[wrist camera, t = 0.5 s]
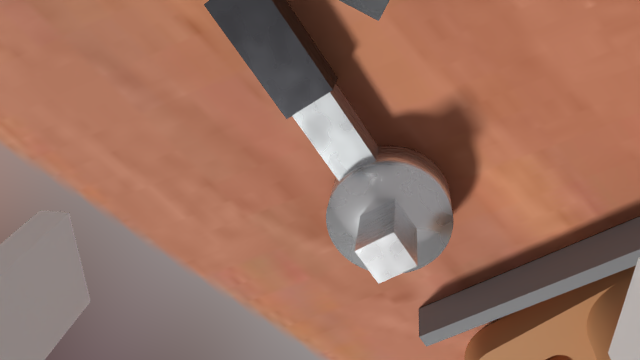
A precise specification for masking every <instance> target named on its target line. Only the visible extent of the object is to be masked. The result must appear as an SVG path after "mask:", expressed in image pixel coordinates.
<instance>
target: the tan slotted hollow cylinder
mask: <svg viewBox="0 0 640 360" xmlns="http://www.w3.org/2000/svg"><path fill="white" fill-rule="evenodd" d="M635 267H636V265H635V266H633V267H630V268H628V269H625V270H623V271H620V272H617V273H615V274H612V275H610V276H607V277H604V278H602V279H599V280H597V281H594V282H592V283H589V284H586V285H584V286H581V287H579V288H576V289H573V290H571V291H568V292H566V293H563V294H561V295H558V296H555V297H553V298H550V299H548V300H545V301H542V302H540V303H537V304H535V305H532V306H530V307H527V308H524V309H522V310H519V311H517V312H514V313H511V314H509V315H506V316H504V317H502V318H500V319H499V320H497V321H495V322H493V323H491V324H490V325H488V326H486V327H485V328H483V329H482V330H480V331H479V332H478V333H477V334H476V335H475V336H474V337H473V338H472V339H471V340H470V342H469V344H468V346H467V348H466V351H465V360H546V359H547V360H611V359H610V357H609V354H608V351H609V348H610V345H611V342H612V339H613V336H614V332H615V329H616V326H617V323H618V320H619V317H620V314H621V311H622V308H623V304H624V301H625V298H626V295H627V292H628V289H629V286H630V283H631V280H632V276H633V273H634V270H635ZM552 356H553V357H552ZM550 357H551V358H550ZM548 358H549V359H548Z"/></svg>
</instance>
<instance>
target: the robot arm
mask: <svg viewBox="0 0 640 360" xmlns="http://www.w3.org/2000/svg"><path fill="white" fill-rule="evenodd" d="M89 303H90V297H89V293H88V288H87V284H86V280H85V276H84V272H83V268H82V263H81V259H80V255H79V251H78V247H77V243H76V239H75V234H74V231H73V226H72V222H71V218H70V214H69V213H67V212H54V211H43V210H40V211H39V212H38V213H37V214H35V215H34V216H33V217H32V218H31V219H29V220H28V221H27V222H26V223H25V224H24V225H23V226H21V227H20V228H19V229H18V230H17V231H15V232H14V233H13V234H12V235H11V236H9V237H8V238H7V239H6V240H5V241H4V242H2V243H1V244H0V360H45V358H46V357H47V356H48V355H49V353H50V352H51V351H52V350H53V348H54V347H55V346H56V344H57V343H58V342H59V341H60V340H61V338H62V337H63V336H64V334H65V333H66V332H67V330H68V329H69V328H70V327H71V326H72V324H73V323H74V322H75V320H76V319H77V318H78V317H79V315H80V314H81V313H82V312H83V310H84V309H85V308H86V306H87V305H88V304H89ZM608 354H609V357H610V359H611V360H640V257H639V258H638V261H637V264H636V267H635V270H634V273H633V276H632V280H631V283H630V286H629V289H628V292H627V295H626V298H625V301H624V304H623V308H622V311H621V314H620V317H619V320H618V323H617V326H616V329H615V332H614V336H613V339H612V342H611V345H610V348H609V351H608Z"/></svg>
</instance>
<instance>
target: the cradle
mask: <svg viewBox="0 0 640 360" xmlns="http://www.w3.org/2000/svg"><path fill="white" fill-rule="evenodd" d="M639 257H640V217H637V218H635V219H632V220H630V221H628V222H625V223H623V224H621V225H618V226H616V227H613V228H611V229H609V230H606V231H604V232H601V233H599V234H597V235H594V236H592V237H589V238H587V239H585V240H582V241H580V242H577V243H575V244H573V245H570V246H568V247H565V248H563V249H561V250H558V251H556V252H554V253H551V254H549V255H546V256H544V257H542V258H539V259H537V260H534V261H532V262H530V263H527V264H525V265H522V266H520V267H518V268H515V269H513V270H510V271H508V272H506V273H503V274H501V275H498V276H496V277H494V278H491V279H489V280H487V281H484V282H482V283H479V284H477V285H475V286H472V287H470V288H467V289H465V290H463V291H460V292H458V293H455V294H453V295H451V296H448V297H446V298H443V299H441V300H439V301H436V302H434V303H431V304H429V305H427V306H424V307H422V308H420V309H419V337H420V338H421V340H422V341H423V343H424V344H425V345H426V346H429V345H431V344H434V343H437V342H439V341H442V340H444V339H447V338H450V337H452V336H455V335H457V334H460V333H462V332H465V331H468V330H470V329H473V328H475V327H478V326H480V325H483V324H486V323H488V322H491V321H493V320H496V319H499V318H501V317H504V316H506V315H509V314H511V313H514V312H517V311H519V310H522V309H524V308H527V307H530V306H532V305H535V304H537V303H540V302H542V301H545V300H548V299H550V298H553V297H555V296H558V295H561V294H563V293H566V292H568V291H571V290H573V289H576V288H579V287H581V286H584V285H586V284H589V283H592V282H594V281H597V280H599V279H602V278H604V277H607V276H610V275H612V274H615V273H617V272H620V271H623V270H625V269H628V268H630V267H633V266H635V265H636V264H637V261H638V258H639Z"/></svg>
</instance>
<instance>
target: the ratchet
mask: <svg viewBox="0 0 640 360" xmlns="http://www.w3.org/2000/svg"><path fill="white" fill-rule="evenodd" d="M204 5H205V7H206V8H207V10H208V11H209V12H210V14H211V15H212V17H213V18H214V19H215V21H216V22H217V23H218V25H219V26H220V28H221V29H222V30H223V32H224V33H225V35H226V36H227V37H228V39H229V40H230V41H231V43H232V44H233V46H234V47H235V48H236V50H237V51H238V52H239V54H240V55H241V57H242V58H243V59H244V61H245V62H246V64H247V65H248V66H249V68H250V69H251V70H252V72H253V73H254V75H255V76H256V77H257V79H258V80H259V82H260V83H261V84H262V86H263V87H264V88H265V90H266V91H267V93H268V94H269V95H270V97H271V98H272V100H273V101H274V102H275V104H276V105H277V106H278V108H279V109H280V111H281V112H282V113H283V115H284V116H285V117H286V119H287V118H289V117H291V116H293V118H294V119H295V120H296V122H297V123H298V125H299V126H300V127H301V129H302V130H303V132H304V133H305V134H306V136H307V137H308V139H309V140H310V141H311V143H312V144H313V146H314V147H315V148H316V150H317V151H318V153H319V154H320V155H321V157H322V158H323V159H324V161H325V162H326V164H327V165H328V166H329V168H330V169H331V171H332V172H333V173H334V175H335V176H336V179H335V182H334V185H333V189H332V193H331V196H330V200H329V203H328V207H327V213H326V223H327V229H328V232H329V235H330V238H331V240H332V242H333V243H334V245H335V246H336V248H337V249H338V250H339V251H340V253H341V254H342V255H343V256H344V257H346V258H347V259H348V260H349V261H351V262H352V263H354V264H356V265H357V266H359V267H361V268H364V269H366V270H369V271H370V273H371V274H372V275H373V277H374V278H375V279H376V281H377V282H378V283H381V282H383V281H386V280H388V279H390V278H392V277H395V276H397V275H399V274H401V273H407V272H411V271H414V270H417V269H419V268H422V267H424V266H425V265H427V264H429V263H430V262H432V261H433V260H434V259H435V258H437V257H438V256H439V255H440V254H441V252H442V251H443V250H444V249H445V247H446V245H447V244H448V242H449V239H450V237H451V234H452V229H453V213H452V205H451V198H450V191H449V186H448V183H447V181H446V178H445V177H444V175H443V173H442V172H441V170H440V169H439V168H438V166H437V165H436V164H435V163H434V162H433V161H431V160H430V159H429V158H427V157H426V156H424V155H422V154H421V153H419V152H416V151H414V150H411V149H408V148H404V147H398V146H381V147H378V145H377V144H376V142H375V141H374V139H373V138H372V136H371V135H370V133H369V132H368V131H367V129H366V128H365V126H364V125H363V123H362V122H361V120H360V119H359V117H358V116H357V114H356V113H355V111H354V110H353V108H352V107H351V105H350V104H349V102H348V101H347V99H346V98H345V96H344V95H343V93H342V92H341V90H340V89H339V87H338V86H337V85H336V81H337V79H338V78H337V76H336V75H335V73H334V72H333V70H332V69H331V67H330V66H329V64H328V63H327V61H326V60H325V58H324V57H323V55H322V54H321V52H320V51H319V49H318V48H317V46H316V45H315V43H314V42H313V40H312V39H311V37H310V36H309V34H308V33H307V31H306V30H305V28H304V27H303V25H302V24H301V22H300V21H299V19H298V18H297V16H296V15H295V13H294V12H293V10H292V9H291V7H290V6H289V4H288V3H287V1H286V0H209V1H208V2H207V3H205V4H204Z"/></svg>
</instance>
